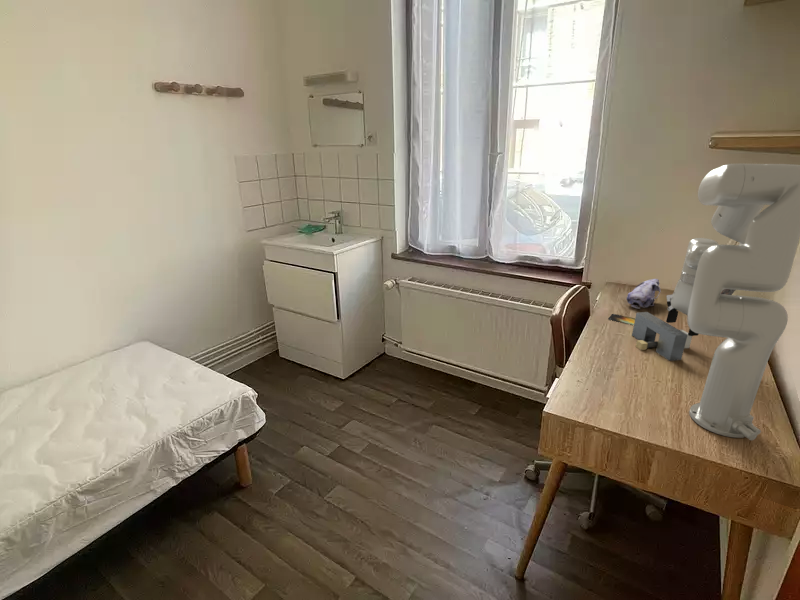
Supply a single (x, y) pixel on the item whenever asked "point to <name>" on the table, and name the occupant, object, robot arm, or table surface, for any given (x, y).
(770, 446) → the table surface
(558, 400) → the table surface
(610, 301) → the table surface
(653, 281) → the lavender lump
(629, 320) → the smartphone
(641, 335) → the block
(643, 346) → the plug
